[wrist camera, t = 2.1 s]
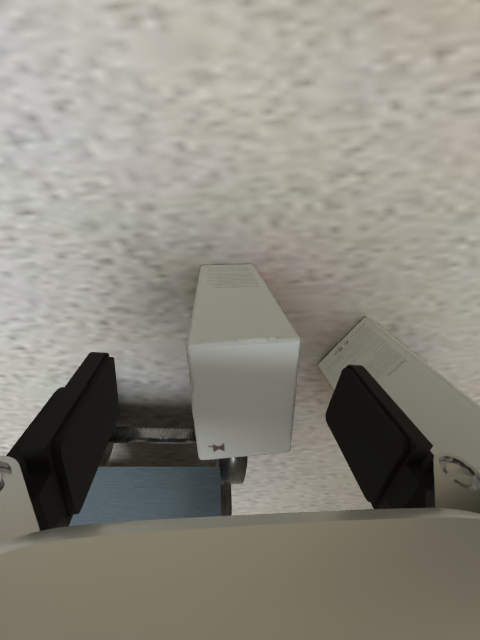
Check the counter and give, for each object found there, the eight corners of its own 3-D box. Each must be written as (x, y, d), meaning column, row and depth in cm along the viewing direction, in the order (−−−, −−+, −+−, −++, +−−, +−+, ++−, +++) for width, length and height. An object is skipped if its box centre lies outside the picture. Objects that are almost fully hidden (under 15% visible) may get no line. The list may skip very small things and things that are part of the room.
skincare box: (254, 330, 22) (291, 456, 12) (204, 333, 22) (195, 464, 11) (255, 260, 20) (305, 338, 9) (199, 262, 19) (180, 345, 9)
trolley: (242, 379, 24) (345, 1054, 5) (222, 496, 32) (235, 946, 13) (91, 372, 23) (-601, 1370, 3) (108, 497, 30) (-77, 1026, 11)
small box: (315, 364, 24) (407, 518, 13) (365, 313, 23) (527, 440, 11) (369, 399, 27) (487, 553, 15) (418, 356, 25) (594, 496, 14)
